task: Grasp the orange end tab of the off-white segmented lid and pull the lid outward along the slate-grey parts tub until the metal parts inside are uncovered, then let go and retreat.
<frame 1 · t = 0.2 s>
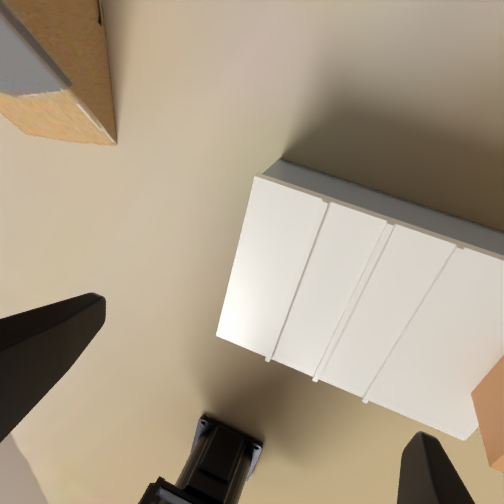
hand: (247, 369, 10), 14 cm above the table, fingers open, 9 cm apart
sandwich container: (49, 16, 22), on the table
tub: (354, 265, 23), on the table
lid: (366, 340, 17), point 7 cm above the table, slide at 0.0 cm
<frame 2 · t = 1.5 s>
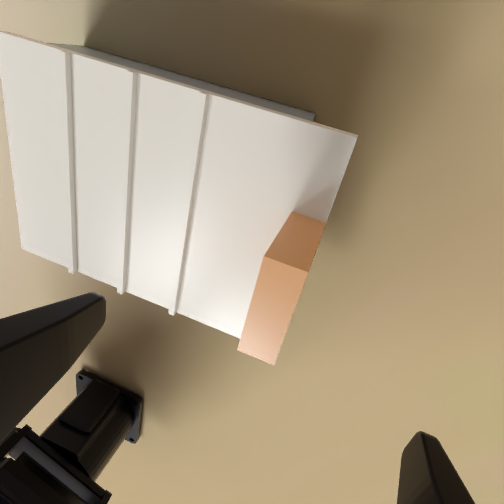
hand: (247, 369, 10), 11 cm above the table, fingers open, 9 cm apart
tub: (180, 171, 21), on the table
lid: (126, 220, 15), point 7 cm above the table, slide at 0.0 cm
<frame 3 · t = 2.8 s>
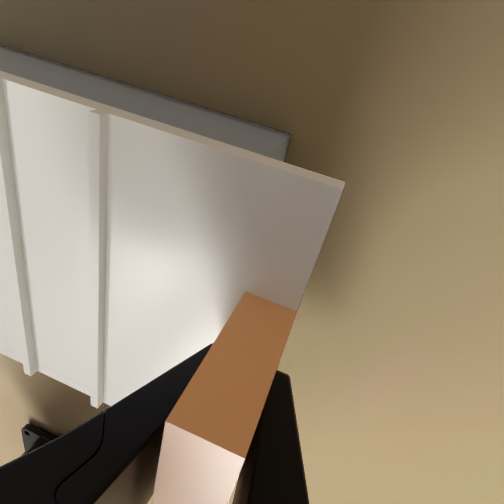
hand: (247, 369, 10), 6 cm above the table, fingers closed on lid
tub: (119, 205, 16), on the table
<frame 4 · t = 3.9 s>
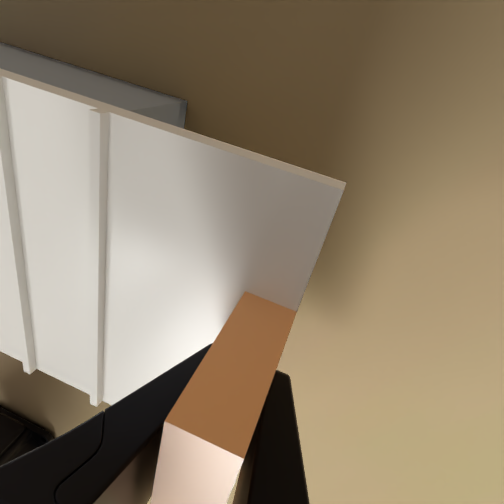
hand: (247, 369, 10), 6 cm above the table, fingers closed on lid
tub: (44, 175, 16), on the table
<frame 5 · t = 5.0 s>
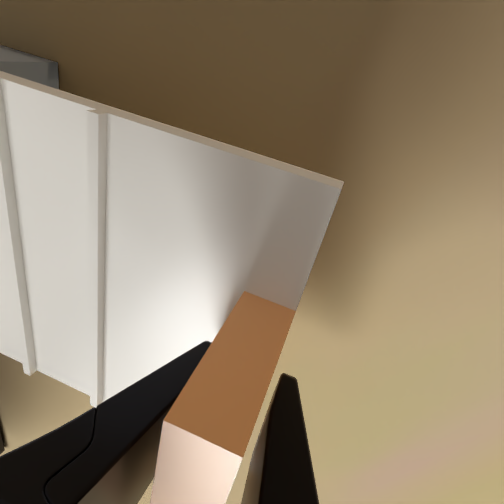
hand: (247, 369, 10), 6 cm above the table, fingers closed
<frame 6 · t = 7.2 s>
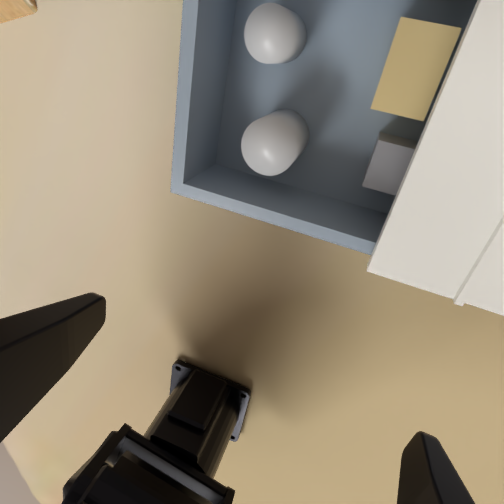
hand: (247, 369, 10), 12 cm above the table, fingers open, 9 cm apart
tub: (348, 103, 17), on the table
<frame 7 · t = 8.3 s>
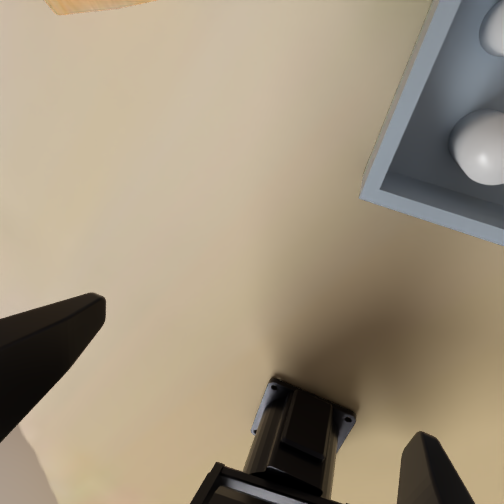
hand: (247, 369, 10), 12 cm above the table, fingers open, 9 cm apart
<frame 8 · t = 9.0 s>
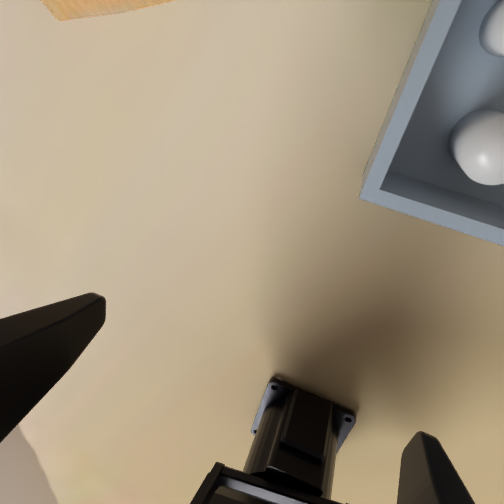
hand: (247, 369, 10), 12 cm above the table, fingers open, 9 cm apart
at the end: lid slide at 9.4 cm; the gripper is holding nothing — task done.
